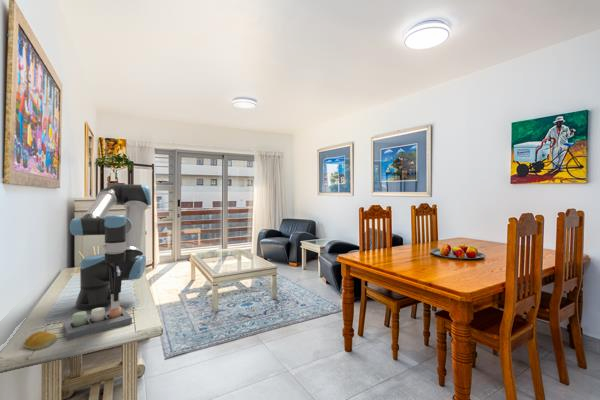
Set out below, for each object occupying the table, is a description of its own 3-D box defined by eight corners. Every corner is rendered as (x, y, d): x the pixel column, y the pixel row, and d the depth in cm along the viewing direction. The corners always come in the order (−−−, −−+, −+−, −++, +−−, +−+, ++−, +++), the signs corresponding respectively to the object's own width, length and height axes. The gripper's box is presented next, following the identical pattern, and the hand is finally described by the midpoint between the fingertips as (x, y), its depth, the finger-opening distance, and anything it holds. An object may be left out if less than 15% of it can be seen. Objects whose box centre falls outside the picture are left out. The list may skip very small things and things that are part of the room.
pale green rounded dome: (72, 323, 117) (71, 313, 117) (85, 320, 120) (85, 310, 120) (73, 327, 114) (73, 316, 113) (87, 323, 117) (87, 313, 116)
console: (63, 327, 119) (63, 321, 119) (122, 312, 133) (122, 307, 133) (67, 340, 109) (67, 333, 108) (131, 323, 123) (131, 317, 123)
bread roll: (35, 352, 100) (35, 341, 100) (19, 347, 104) (19, 335, 104) (62, 341, 108) (62, 330, 108) (47, 336, 111) (47, 326, 111)
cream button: (90, 319, 121) (90, 309, 121) (103, 316, 124) (103, 306, 124) (92, 322, 118) (92, 312, 118) (105, 319, 121) (105, 309, 121)
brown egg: (107, 317, 125) (107, 308, 125) (119, 314, 128) (119, 305, 128) (110, 321, 122) (110, 311, 122) (122, 318, 125) (122, 308, 125)
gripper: (101, 250, 126) (101, 305, 127) (108, 255, 117) (108, 315, 117) (121, 248, 131) (121, 301, 132) (129, 253, 122) (129, 310, 123)
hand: (115, 308), depth 125 cm, fingers closed
